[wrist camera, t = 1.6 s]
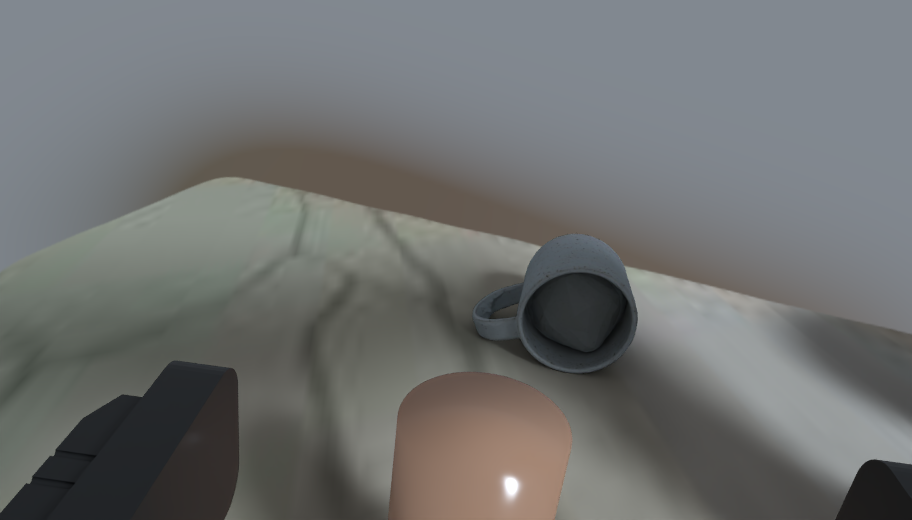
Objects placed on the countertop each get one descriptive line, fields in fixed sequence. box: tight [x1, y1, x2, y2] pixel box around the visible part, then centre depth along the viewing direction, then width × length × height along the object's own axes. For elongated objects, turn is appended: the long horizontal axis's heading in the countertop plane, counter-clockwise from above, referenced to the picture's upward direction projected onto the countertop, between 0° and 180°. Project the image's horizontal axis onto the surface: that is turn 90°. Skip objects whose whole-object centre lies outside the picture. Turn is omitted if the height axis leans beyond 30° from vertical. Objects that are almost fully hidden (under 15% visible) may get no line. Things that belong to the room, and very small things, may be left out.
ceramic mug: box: [473, 234, 638, 374], centre depth 49 cm, size 11×8×8 cm
